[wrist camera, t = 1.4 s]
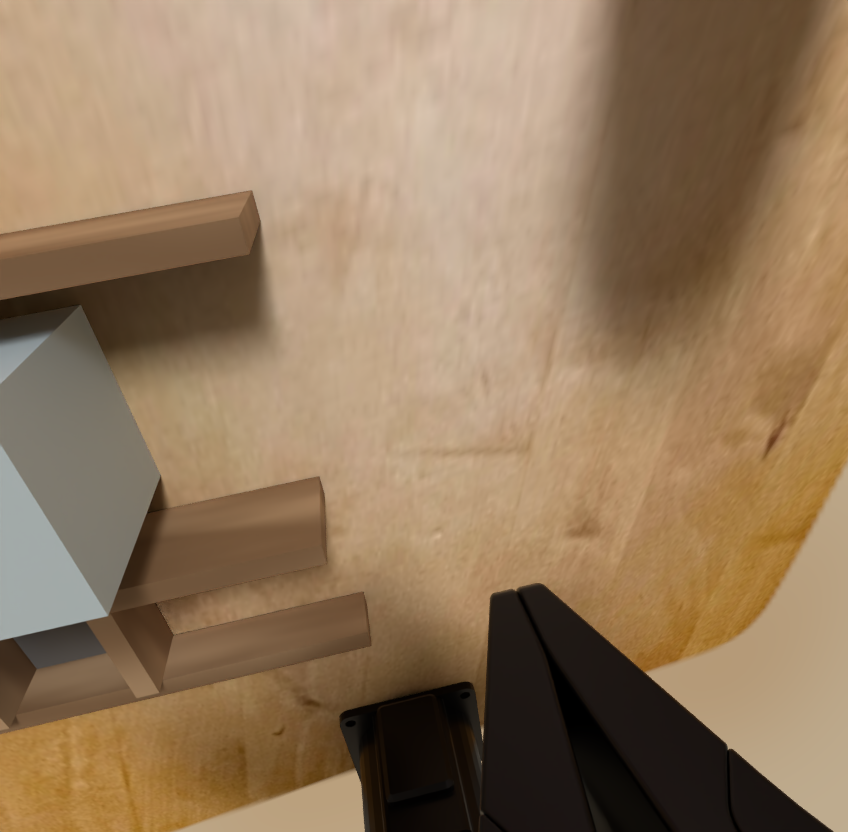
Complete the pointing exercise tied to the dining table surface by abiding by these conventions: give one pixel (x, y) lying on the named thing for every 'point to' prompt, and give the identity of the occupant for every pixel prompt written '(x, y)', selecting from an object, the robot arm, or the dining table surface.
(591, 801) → the robot arm
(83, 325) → the cube
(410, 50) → the dining table surface
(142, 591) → the wooden compartment tray
